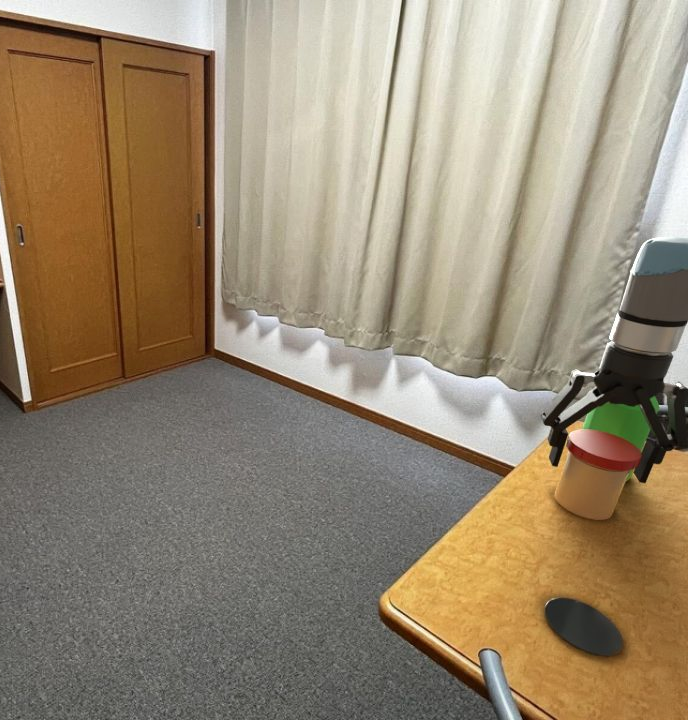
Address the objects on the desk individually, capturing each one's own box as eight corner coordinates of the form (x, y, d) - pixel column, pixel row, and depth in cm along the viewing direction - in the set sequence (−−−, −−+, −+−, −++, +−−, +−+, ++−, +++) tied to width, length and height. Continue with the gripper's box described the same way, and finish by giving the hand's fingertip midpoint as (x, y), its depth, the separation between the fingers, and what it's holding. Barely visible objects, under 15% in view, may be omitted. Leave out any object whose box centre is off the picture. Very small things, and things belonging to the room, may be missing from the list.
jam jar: (607, 499, 82) (629, 443, 78) (615, 528, 76) (639, 469, 72) (551, 485, 86) (569, 431, 82) (555, 512, 80) (575, 454, 75)
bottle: (565, 471, 90) (607, 349, 80) (575, 452, 95) (615, 336, 85) (625, 493, 84) (678, 364, 74) (632, 471, 89) (682, 348, 79)
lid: (654, 468, 73) (658, 458, 72) (599, 473, 72) (603, 463, 72) (601, 436, 82) (605, 427, 81) (552, 440, 81) (555, 431, 80)
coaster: (614, 617, 62) (616, 613, 61) (627, 671, 55) (629, 666, 55) (541, 592, 65) (542, 588, 65) (545, 640, 59) (546, 635, 59)
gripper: (732, 347, 68) (675, 472, 77) (541, 329, 77) (509, 443, 86) (763, 367, 62) (697, 501, 71) (551, 345, 71) (516, 467, 79)
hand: (594, 469), depth 78 cm, fingers open, 11 cm apart
